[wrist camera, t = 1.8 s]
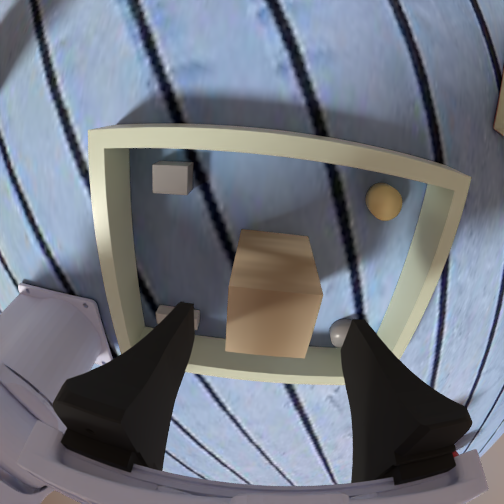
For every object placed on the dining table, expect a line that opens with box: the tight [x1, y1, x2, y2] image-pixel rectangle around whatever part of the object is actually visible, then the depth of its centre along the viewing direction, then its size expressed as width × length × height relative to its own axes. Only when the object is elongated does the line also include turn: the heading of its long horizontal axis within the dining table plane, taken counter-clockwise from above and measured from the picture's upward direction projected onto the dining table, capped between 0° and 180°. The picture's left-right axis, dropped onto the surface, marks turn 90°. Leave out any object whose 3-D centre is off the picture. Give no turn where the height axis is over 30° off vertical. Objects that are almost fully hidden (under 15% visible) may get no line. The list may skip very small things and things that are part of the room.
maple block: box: [225, 229, 323, 358], centre depth 16 cm, size 4×4×6 cm
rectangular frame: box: [88, 123, 472, 385], centre depth 17 cm, size 20×16×3 cm
